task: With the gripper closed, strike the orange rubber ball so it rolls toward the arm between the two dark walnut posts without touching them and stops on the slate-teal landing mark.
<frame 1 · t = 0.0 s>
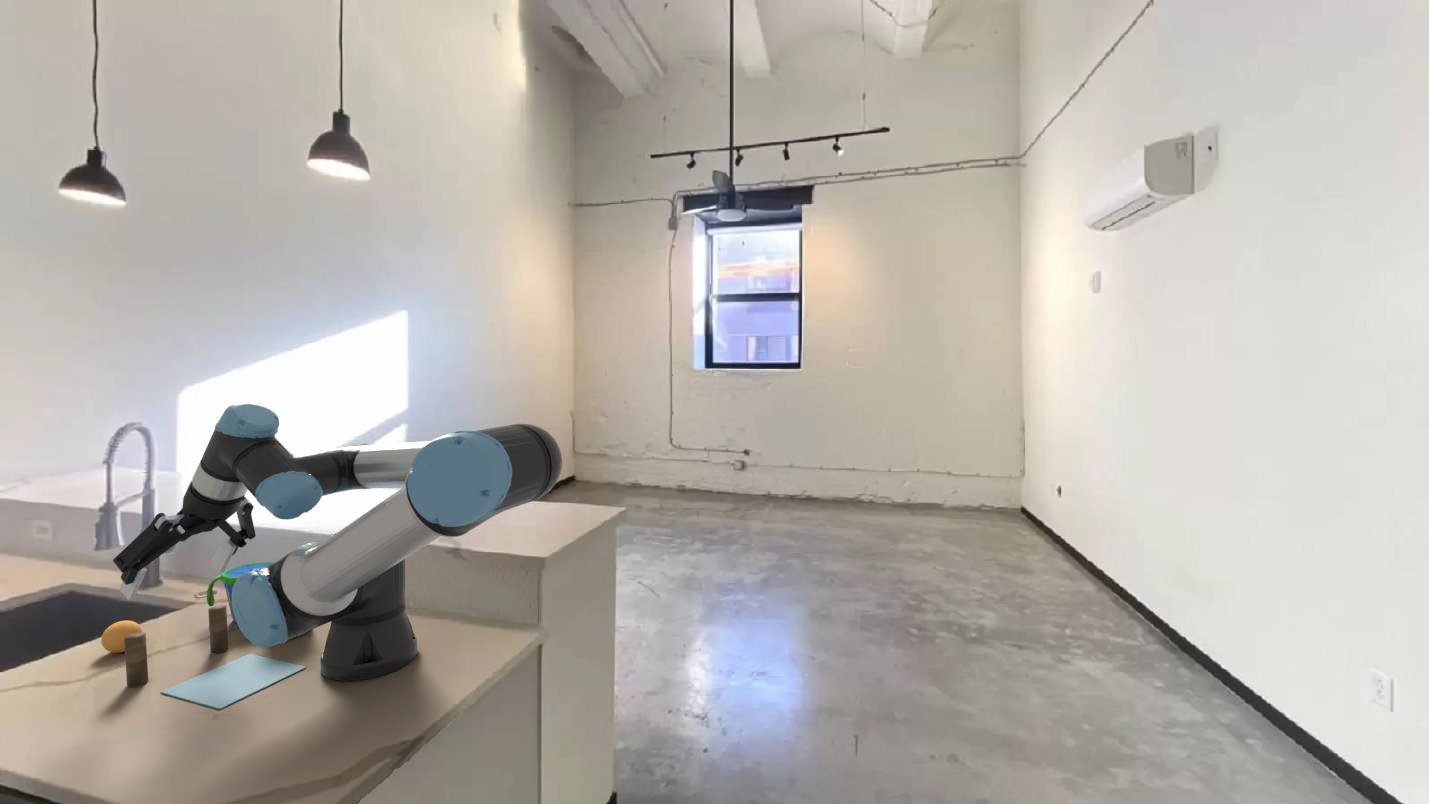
hand: (174, 580, 109), 15 cm above the worktop, tool tilted 35°, fingers open, 13 cm apart
right post: (219, 650, 117), on the worktop
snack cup: (255, 618, 132), on the worktop
landing mark: (236, 680, 106), on the worktop
left post: (137, 683, 105), on the worktop
can: (290, 634, 124), on the worktop
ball: (122, 636, 116), on the worktop
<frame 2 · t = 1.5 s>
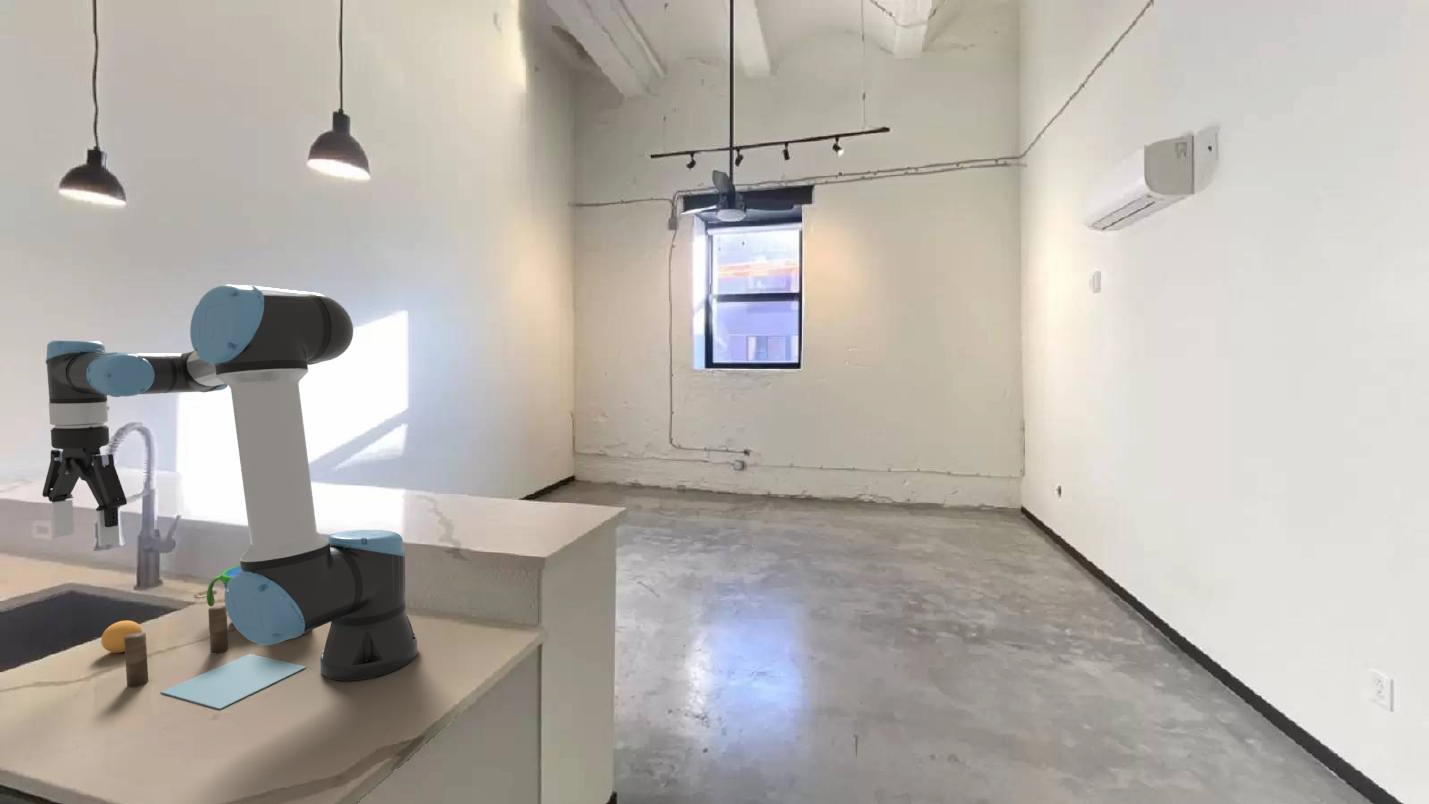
hand: (86, 539, 118), 20 cm above the worktop, tool pointing down, fingers open, 13 cm apart
nothing on the worktop moved.
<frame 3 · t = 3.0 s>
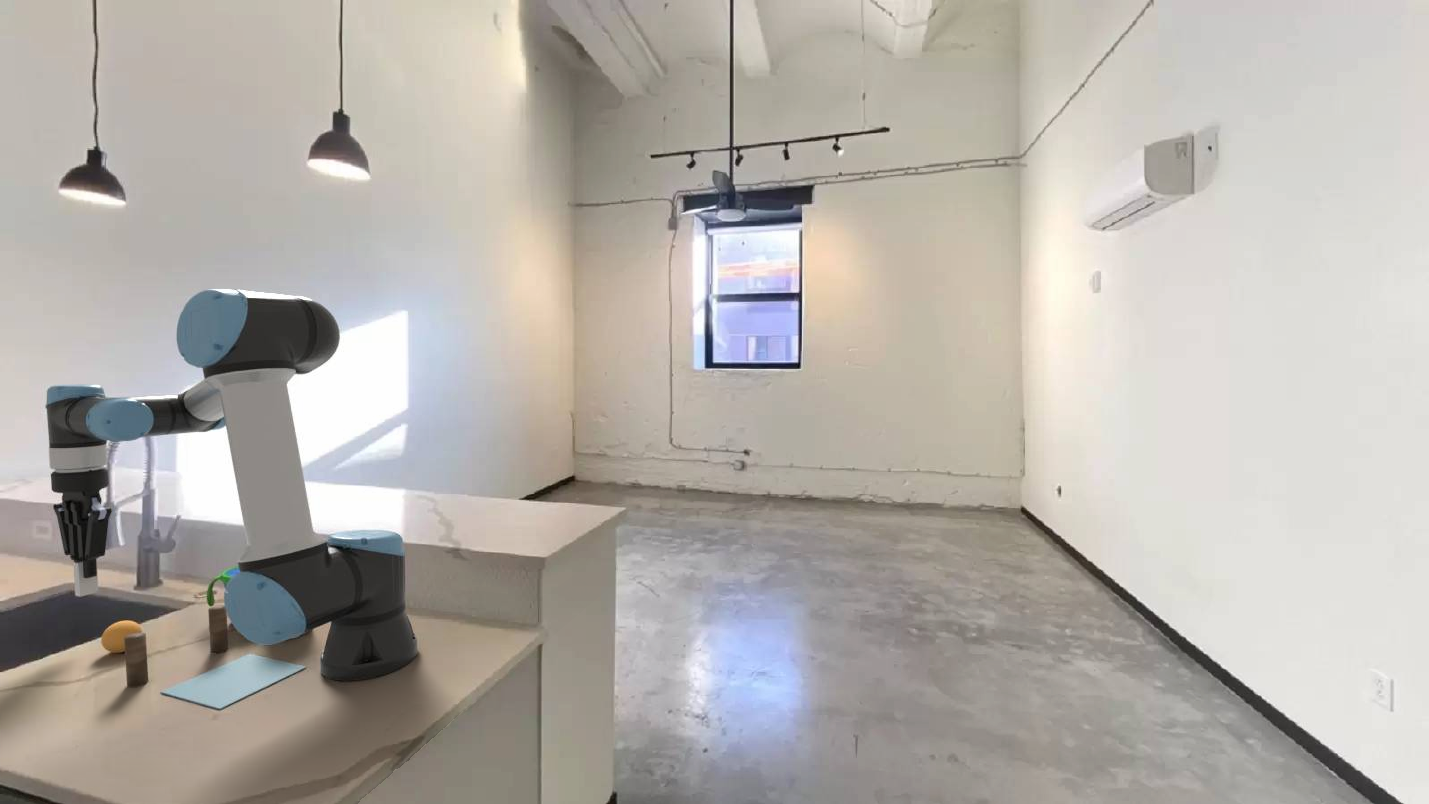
hand: (86, 593, 119), 9 cm above the worktop, tool pointing down, fingers closed
nothing on the worktop moved.
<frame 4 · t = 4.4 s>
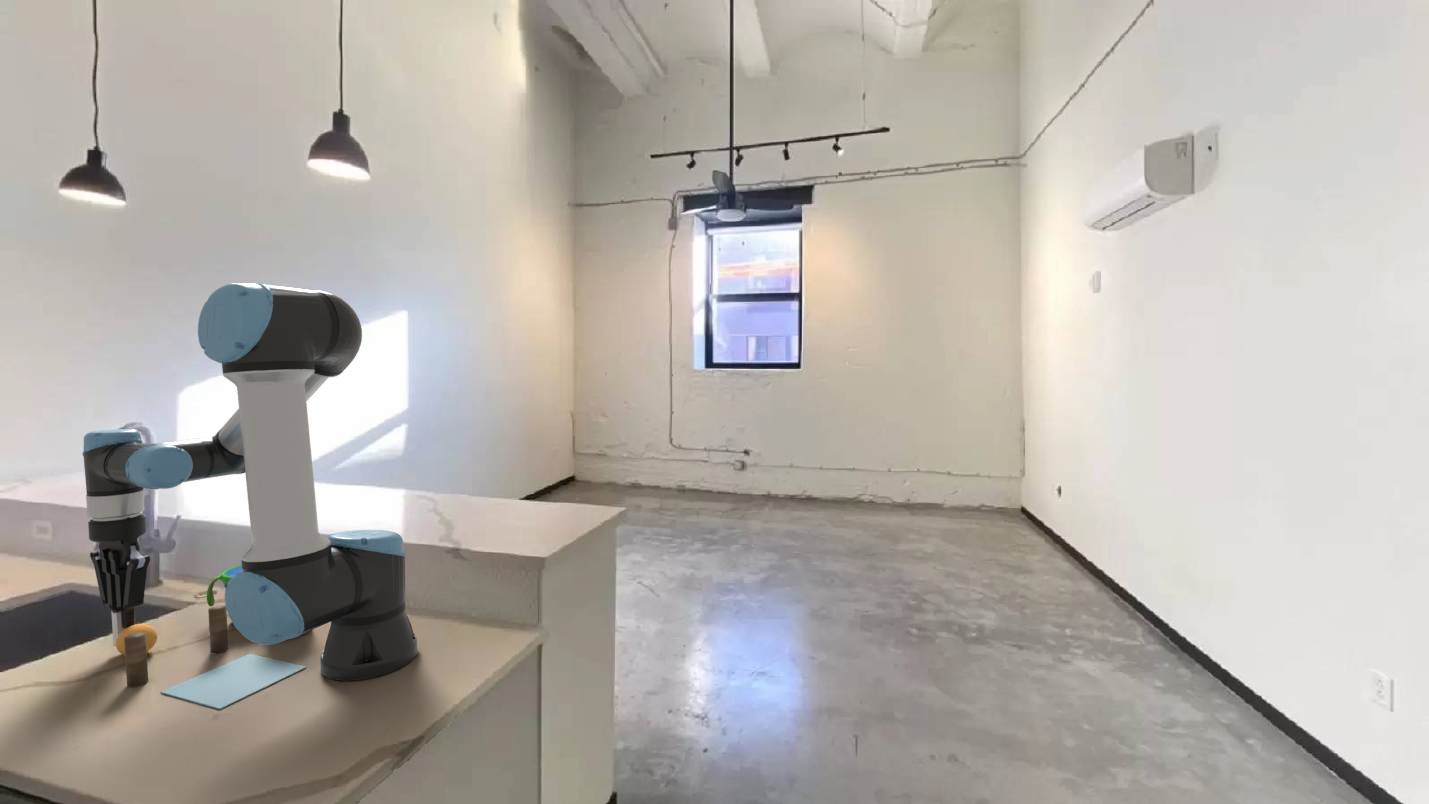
hand: (125, 643, 116), 2 cm above the worktop, tool pointing down, fingers closed
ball: (136, 640, 114), on the worktop
everything else where it was.
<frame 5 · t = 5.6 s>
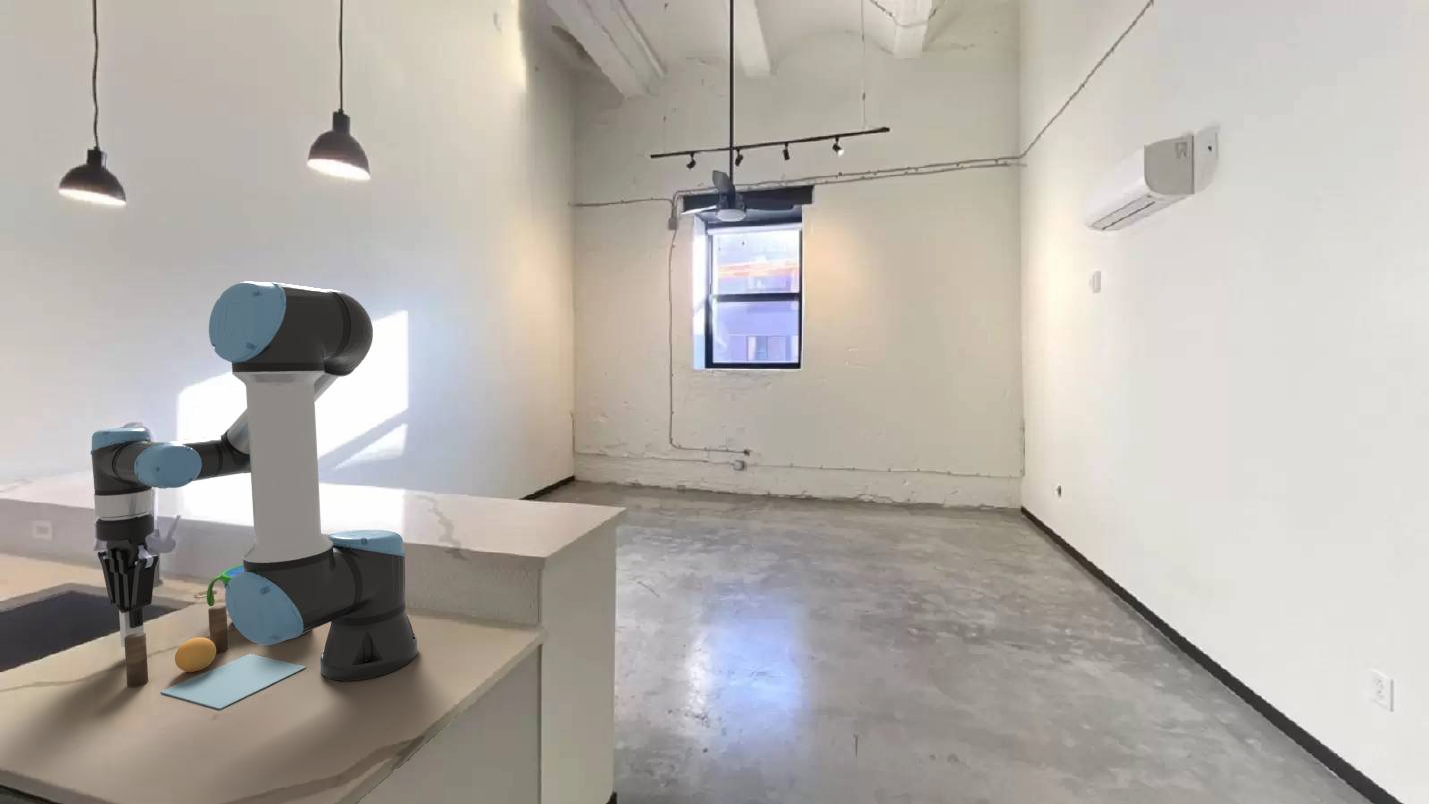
hand: (132, 643, 115), 2 cm above the worktop, tool pointing down, fingers closed
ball: (195, 654, 109), on the worktop
everything else where it was.
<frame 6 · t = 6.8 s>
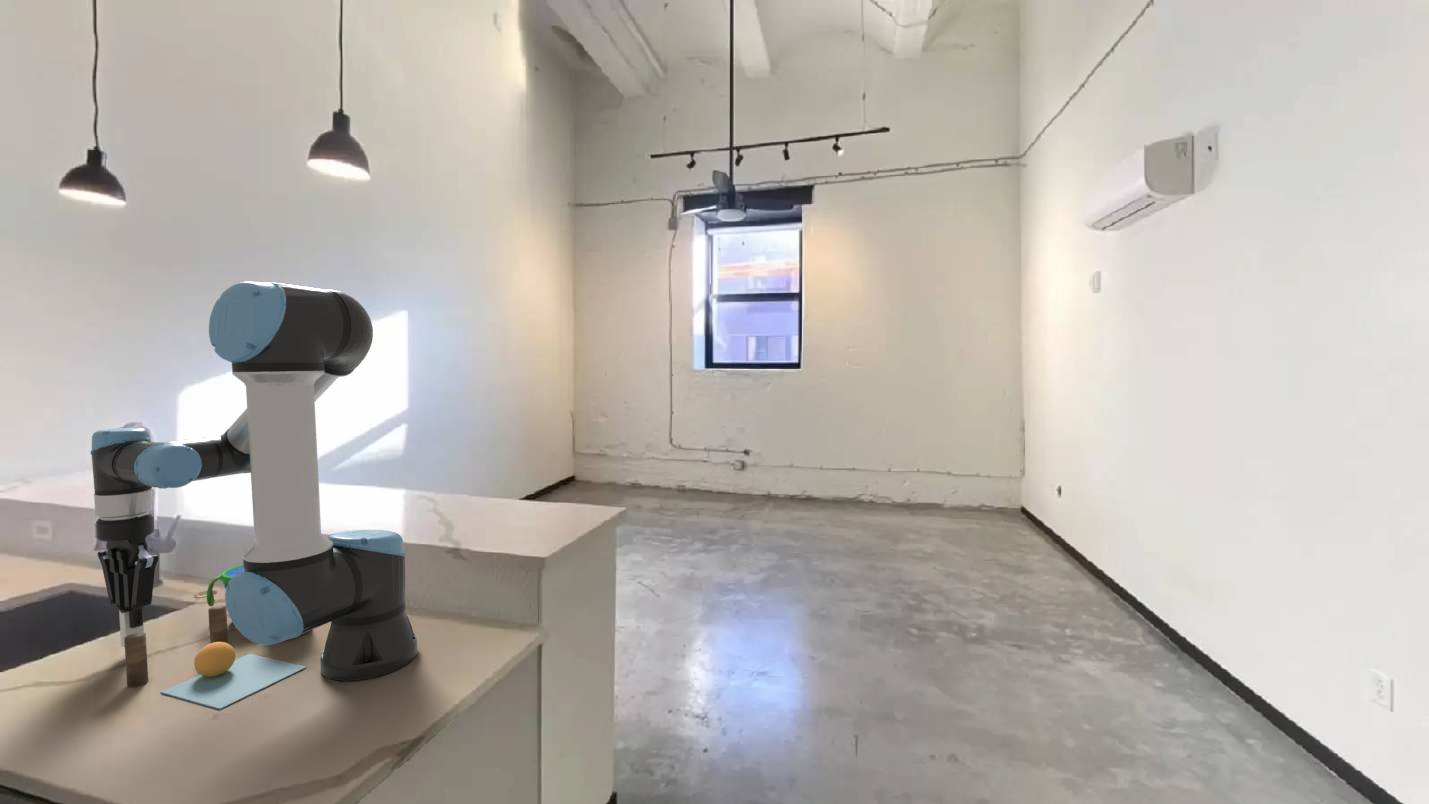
hand: (132, 643, 115), 2 cm above the worktop, tool pointing down, fingers closed
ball: (215, 659, 107), on the worktop
everything else where it was.
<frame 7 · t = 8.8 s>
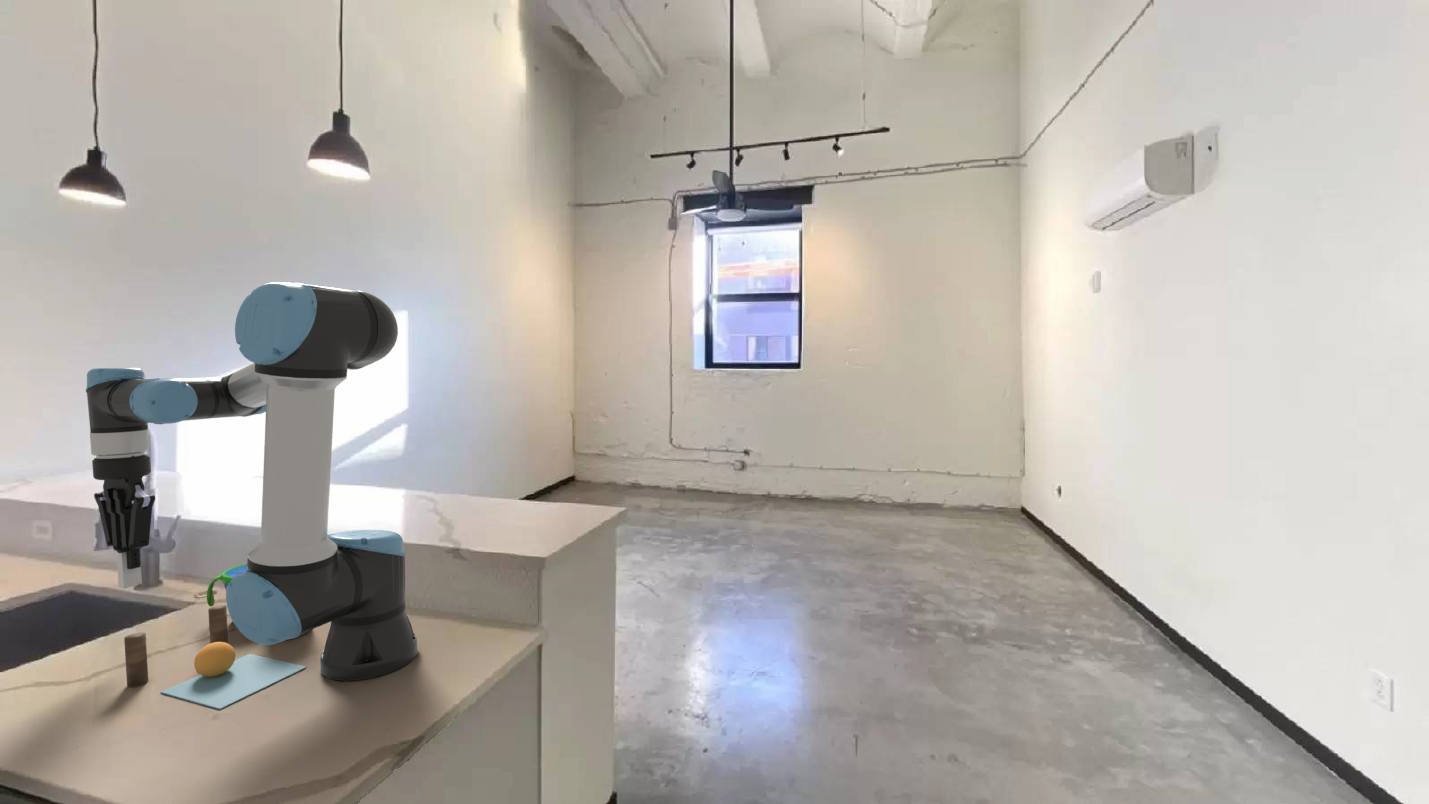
hand: (130, 585, 114), 13 cm above the worktop, tool pointing down, fingers closed
nothing on the worktop moved.
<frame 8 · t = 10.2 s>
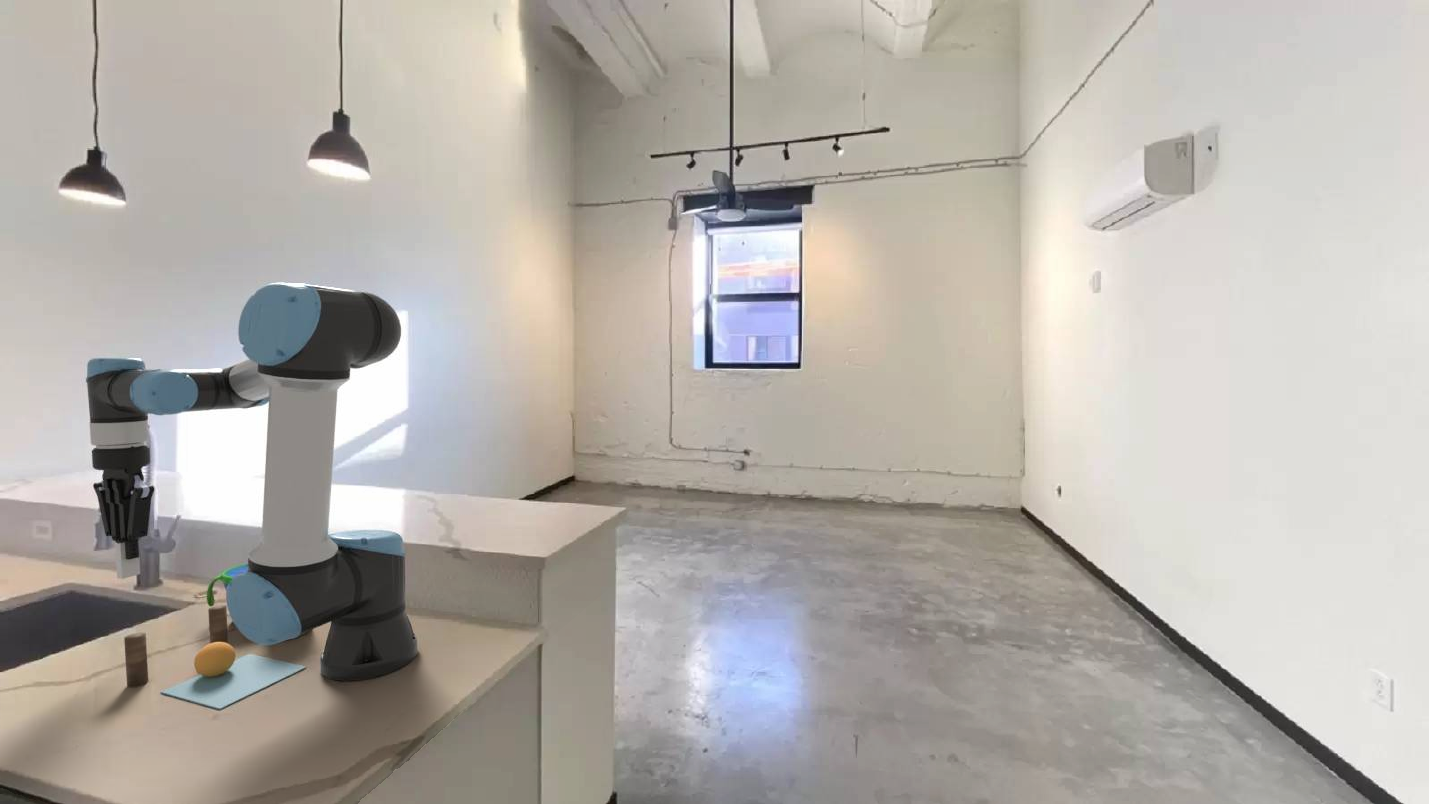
hand: (128, 575, 114), 14 cm above the worktop, tool pointing down, fingers closed
nothing on the worktop moved.
at the end: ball 5.0 cm from the landing mark (horizontally); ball never touched left post; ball never touched right post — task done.
